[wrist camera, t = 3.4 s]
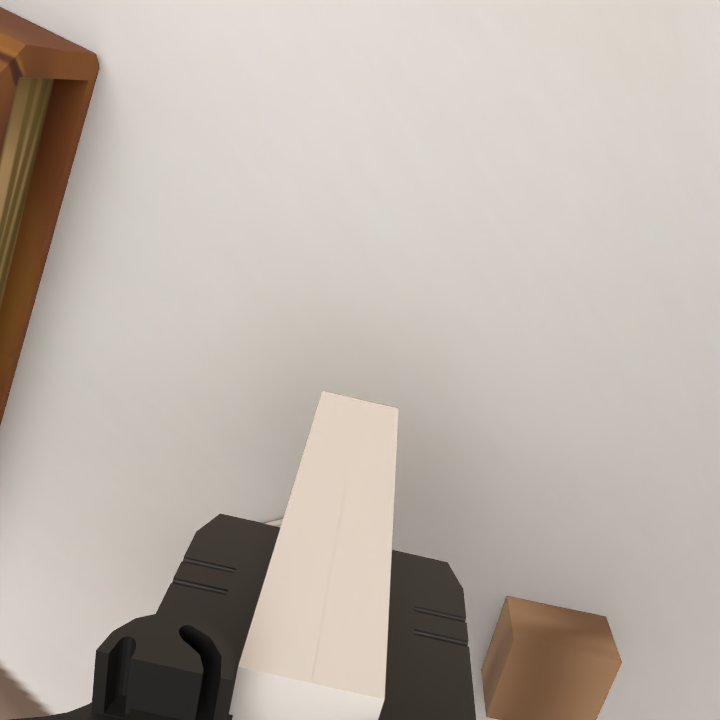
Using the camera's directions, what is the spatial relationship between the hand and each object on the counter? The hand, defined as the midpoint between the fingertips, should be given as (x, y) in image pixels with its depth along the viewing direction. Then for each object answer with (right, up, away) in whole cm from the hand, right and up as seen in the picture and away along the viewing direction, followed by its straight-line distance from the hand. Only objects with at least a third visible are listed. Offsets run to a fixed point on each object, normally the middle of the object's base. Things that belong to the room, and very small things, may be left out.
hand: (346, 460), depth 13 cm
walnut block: (+8, -9, +14) cm, 19 cm away
